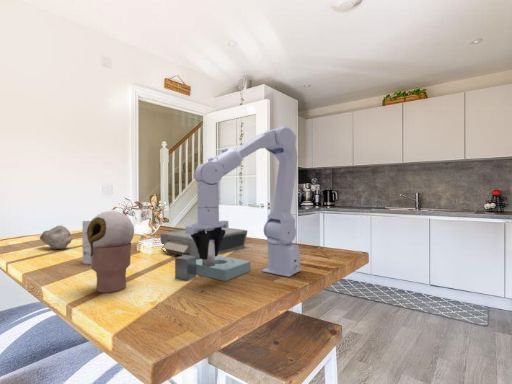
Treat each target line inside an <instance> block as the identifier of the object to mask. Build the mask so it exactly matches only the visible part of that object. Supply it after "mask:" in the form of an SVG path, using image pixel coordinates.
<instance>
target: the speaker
mask: <svg viewBox="0 0 512 384" xmlns="http://www.w3.org/2000/svg"><path fill="white" fill-rule="evenodd" d="M206 229H208V228H206ZM222 230H225V235H224V236H223V238H222V241H221V243H220V247H219V251H218V255H217V256H220V255H223V254H227V252H228V253H230V252H231V253H232V252H235V251H240V250H243V249H244V247H245V244H246V239H247V235H248V230H247V229H240V228H230V227H228V228H222ZM205 233H206V234H207V232H206V231H205ZM159 237H160V244H161V243H162V244H164V246H163V247H162V248H165V249H166V251H167V252H166V253H169V252H170V253H169V254H173V253H174V254H173V255H177V254H179V255H178V256H181V255H189V256H196V260H199V259H200V257H199V253H198V249H197V246H196V244H195V242H194V240H193V238H192V237H191V235H190V234H186V232H185V229H181V230H175V231H167V232H160V236H159ZM162 248H161V249H162ZM219 254H220V255H219Z"/></svg>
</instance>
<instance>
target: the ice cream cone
mask: <svg viewBox="0 0 512 384" xmlns="http://www.w3.org/2000/svg"><path fill="white" fill-rule="evenodd" d="M89 221H90V223H89V225H88V227H87V232H86V234H87V239H88V242H89V243H90V246H91V247H90V250H91V254H90V257H91V264H90V265H91V270H92V271H94V272H95V273H96V286H95V287H96V291H97V292H98V293H104V294H105V293H113V292H118V291H119V292H120V291H122V290H124V289H125V288H126V287H127V277H126V276H127V274H126V273H127V268H129V266H131V248H132V240H133V238H134V233H135V229H134V224H133V221H132V220H131V218H129V217H128V215H126V214H124V213H123V212H120V211H116V210H110V211H107V210H106V211H103V212H100V213H98V214H97V215H96V216H94V217H93V218H92V219H91V220H89Z"/></svg>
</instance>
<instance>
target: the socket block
mask: <svg viewBox="0 0 512 384" xmlns="http://www.w3.org/2000/svg"><path fill="white" fill-rule="evenodd" d="M251 262H252V261H250V260H246V259H245V260H244V259H239V258H234V257H228V256H222V255H217V256H216V257H215V266H212V267H204V266H202V259H199V260H198V259H196V276H197V275H198V276H202V277H206V278H211V279H214V280H218V281H223V282H227V281H230V280H231V279H234V278H237V277H240V276H242V275H245V274H246V273H249V272H251V270H252V269H251V268H252V267H251V266H252V265H251V264H252V263H251Z"/></svg>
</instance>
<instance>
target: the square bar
mask: <svg viewBox="0 0 512 384" xmlns="http://www.w3.org/2000/svg"><path fill="white" fill-rule="evenodd" d="M196 260H197V259H196V256H189V255H183V256H181V255H179V256H177V257H174V279H175V280H179V281H186V282H187V281H190V280H192V279H194V278H196V277H197V274H196Z"/></svg>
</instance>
